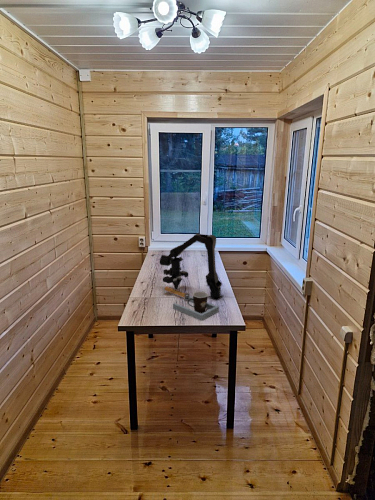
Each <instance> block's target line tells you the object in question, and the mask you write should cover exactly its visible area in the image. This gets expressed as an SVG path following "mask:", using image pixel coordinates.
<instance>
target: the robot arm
mask: <svg viewBox="0 0 375 500" xmlns="http://www.w3.org/2000/svg"><path fill="white" fill-rule="evenodd" d="M196 242H199V243H200V244H204V247H205V249H206V252H207V254H206V255H207V264H208V265H207V267H208V273H206V275H205V280H206V281H205V283H206V285H207V286H208V287H209V290H210V292H209V293H210V295H208V298H209V299H212V300H215V301H217V300H220V299H221V298H223V296H222V295H221V293H222V292H221V290H222V288H221V287H222V285H223V283H222V281H220V280H219V275H218V273H217V270H216V269H217V267H216V253H215V252H216V250H215V248H216V245H217V237H216V236H215V235H213V234H201V233H195V234H194V235H193V236H192V237H191V238H189V239H188V240H186V241H184V242H183V243H181V244H180V245H178V246H175V247H173V248H172V249H171V250H169V254H168V255H166V254H161V256H160V259H159V264H160V266H166V267H169V266H171V267H170V268H169V269H167V268H165V269H163V272H162V273H163V275H165V276H164V277H163V278H162V282H164V283H166V284H171V283H172V285H173V287H174V288H173V289H175V290H178V287H179V286H180V283H181V282H182V281H183V278H182V277H185V278H188V277H189V272H187V271H185V270H182V267H181V262H182V261H183V260H184V259H183V258H182V256H181V255H182V254H183V252H184V251H185V250H186V249H188V248H189V247H191V246H192V245H193V244H195V243H196Z"/></svg>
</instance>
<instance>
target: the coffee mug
mask: <svg viewBox="0 0 375 500" xmlns="http://www.w3.org/2000/svg"><path fill="white" fill-rule="evenodd" d="M192 297H193V299H192V298H191V299H189V300H188V301H187V304H188V305H189V306H190V307H192V308H194V311H196V312H198V313H201V314H202V313H204V312H206V311H207V308H206V305H207V302H208V298H209V294H208V292H206V291H205V292H204V291H194V293H192ZM190 300H193V301H194V303H193V305H191V304H190V302H189V301H190Z"/></svg>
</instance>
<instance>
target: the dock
mask: <svg viewBox="0 0 375 500" xmlns="http://www.w3.org/2000/svg"><path fill="white" fill-rule="evenodd" d="M191 298H192V299H193V296H191V295H189V299H191ZM189 299H185V298H184V297H183V301H184V302H188V300H189ZM189 303H192V304H194V301H193V300H190V301H189ZM172 309H174V310H176V311H178V312H180V313H182V314H185V315H188V316H189V317H192V318H194V319H197V320H199V321H204V320H206V319H208V318H209V317H211V316H213V315H215V314H217V313H218V312H219V311H220V310H219V309H220V306H217V305H216V304H212V303H210V302H208V301H207V305H206V312H204V313H198V312H196V311H195V310H193V309H191V308H188V307H186V306H183V305H182V304H178V303H176V302H174V303H172Z"/></svg>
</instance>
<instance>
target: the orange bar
mask: <svg viewBox="0 0 375 500" xmlns="http://www.w3.org/2000/svg"><path fill="white" fill-rule="evenodd" d="M164 290H165V291H166V292H168V293H172V294H175V295H177V296H179V297H182V298H183V299H184V298H185V299H189V296H190V293H187V292H186V293H185V292H183V291H180V290H178V289H175V288H171V287H169V286H164Z"/></svg>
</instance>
